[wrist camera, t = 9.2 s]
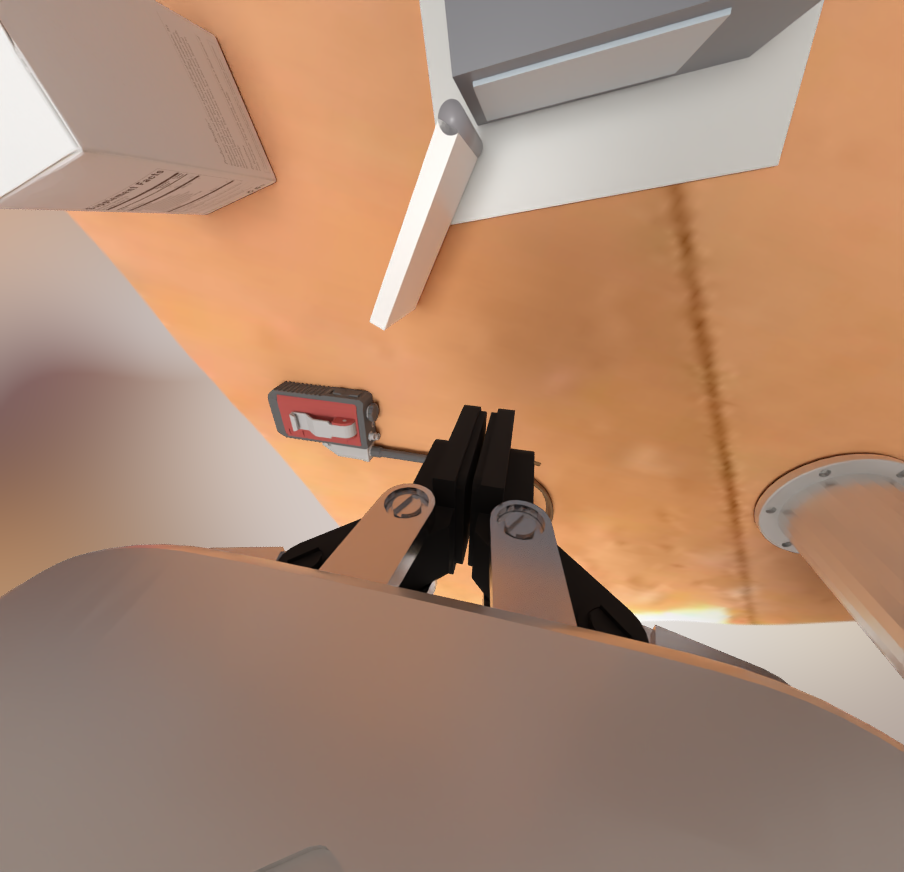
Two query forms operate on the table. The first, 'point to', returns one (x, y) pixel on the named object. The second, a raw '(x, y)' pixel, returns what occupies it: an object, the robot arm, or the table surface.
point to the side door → (428, 213)
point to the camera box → (614, 92)
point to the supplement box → (120, 111)
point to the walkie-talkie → (332, 420)
